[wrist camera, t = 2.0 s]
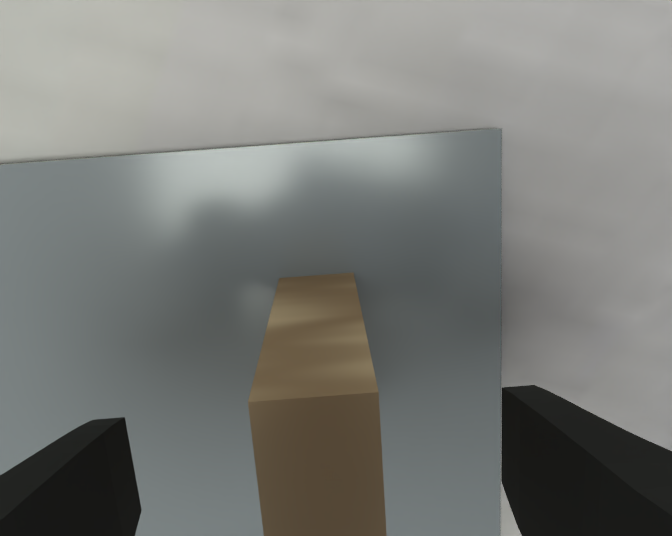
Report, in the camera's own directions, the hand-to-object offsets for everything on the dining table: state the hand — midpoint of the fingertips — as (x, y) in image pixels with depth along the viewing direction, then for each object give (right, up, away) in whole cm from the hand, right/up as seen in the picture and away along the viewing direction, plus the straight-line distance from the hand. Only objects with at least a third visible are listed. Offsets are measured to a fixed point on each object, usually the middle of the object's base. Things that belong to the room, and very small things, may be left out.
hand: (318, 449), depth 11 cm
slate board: (-2, -6, +7) cm, 10 cm away
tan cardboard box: (0, +1, +5) cm, 5 cm away
